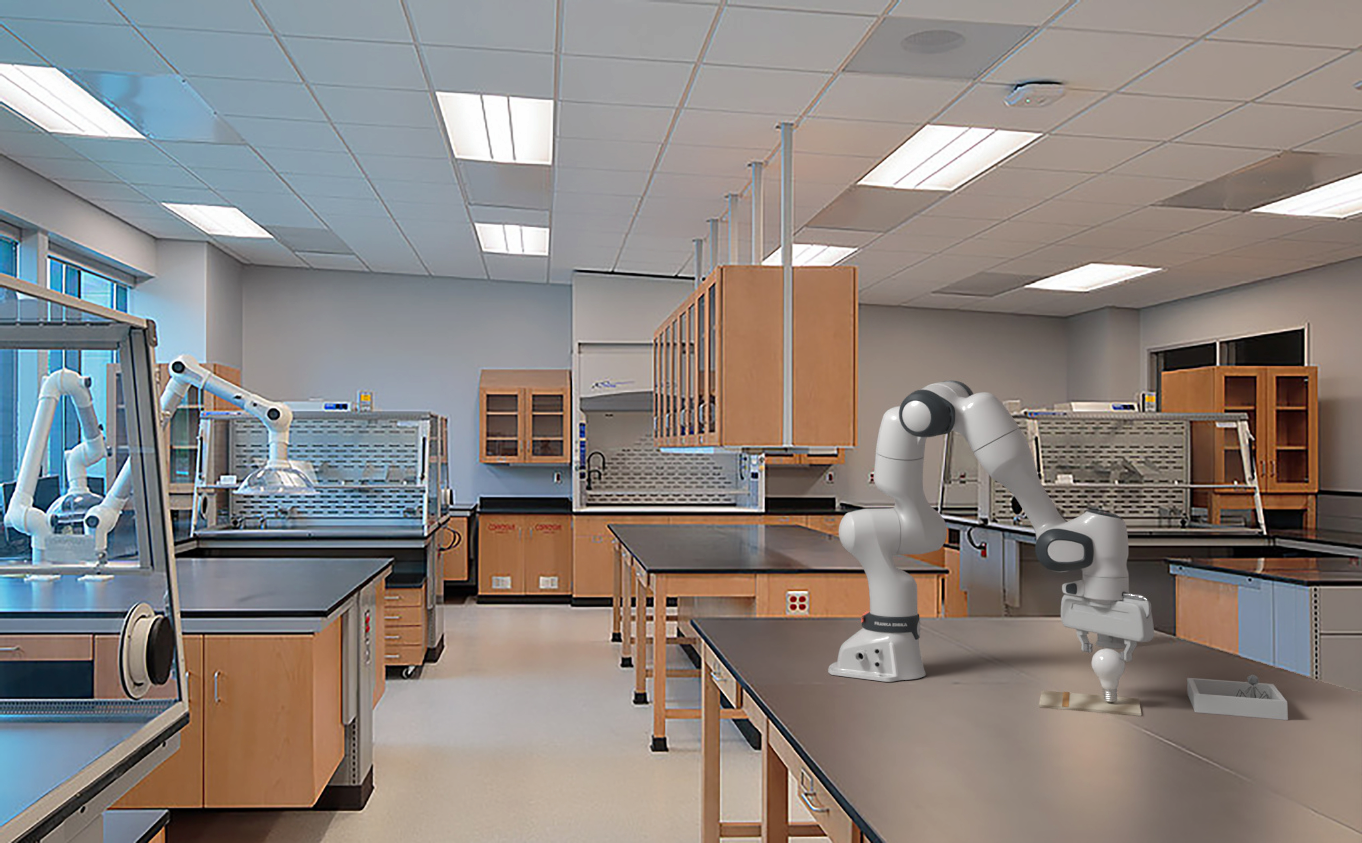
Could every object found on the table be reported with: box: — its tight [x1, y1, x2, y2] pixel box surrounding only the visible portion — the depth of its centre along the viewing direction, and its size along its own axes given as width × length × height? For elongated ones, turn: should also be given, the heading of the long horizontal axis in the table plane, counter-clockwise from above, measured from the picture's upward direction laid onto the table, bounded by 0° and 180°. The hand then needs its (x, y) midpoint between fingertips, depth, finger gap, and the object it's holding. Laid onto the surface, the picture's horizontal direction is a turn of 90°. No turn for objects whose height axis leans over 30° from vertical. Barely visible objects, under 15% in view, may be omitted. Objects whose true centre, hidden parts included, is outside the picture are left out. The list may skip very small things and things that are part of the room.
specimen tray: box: [1186, 677, 1289, 721], centre depth 201 cm, size 16×16×4 cm
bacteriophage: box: [1236, 674, 1269, 699], centre depth 202 cm, size 7×8×7 cm
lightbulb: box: [1091, 647, 1126, 703], centre depth 203 cm, size 6×6×11 cm
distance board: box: [1038, 690, 1142, 717], centre depth 204 cm, size 19×13×1 cm
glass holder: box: [1095, 633, 1127, 650], centre depth 264 cm, size 9×14×15 cm, turn 148°
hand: (1106, 656), depth 204 cm, fingers open, 8 cm apart
